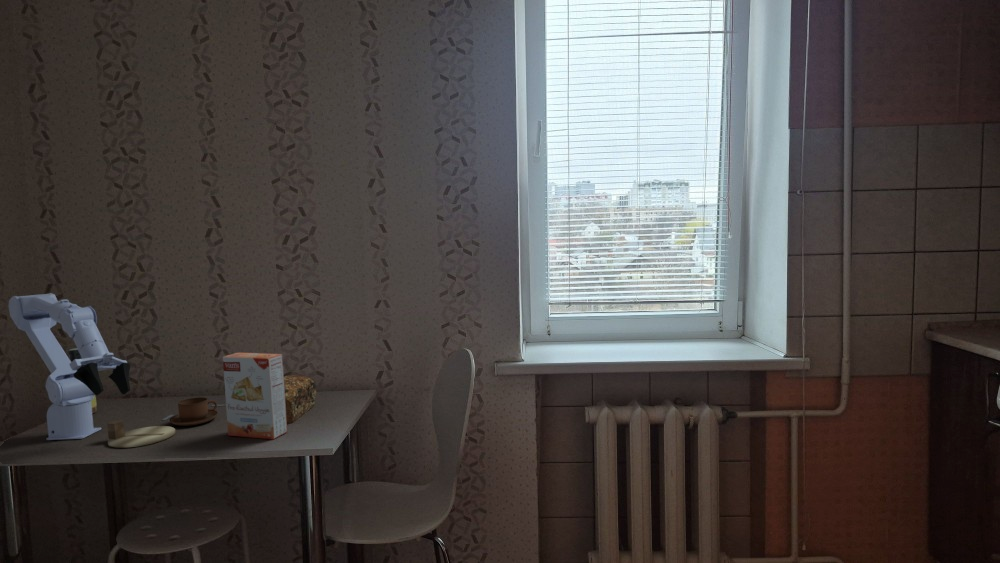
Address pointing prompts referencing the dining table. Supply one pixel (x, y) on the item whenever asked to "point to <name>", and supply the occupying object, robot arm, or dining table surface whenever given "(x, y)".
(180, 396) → the dining table surface
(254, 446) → the dining table surface
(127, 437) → the cream disc with block
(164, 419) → the tape mark left
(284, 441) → the dining table surface
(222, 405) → the tape mark far
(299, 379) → the bread
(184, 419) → the cup and saucer
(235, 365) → the cracker box
